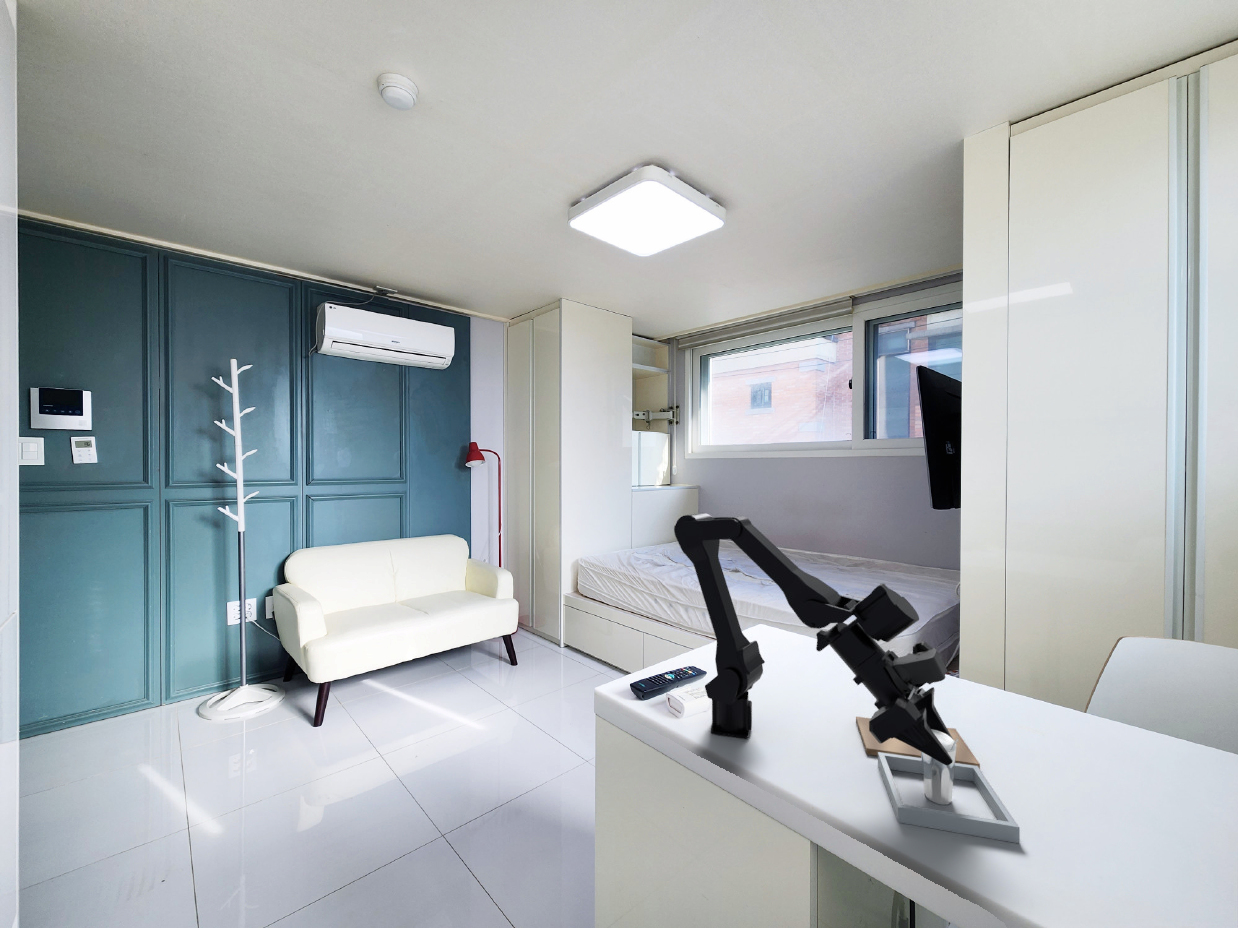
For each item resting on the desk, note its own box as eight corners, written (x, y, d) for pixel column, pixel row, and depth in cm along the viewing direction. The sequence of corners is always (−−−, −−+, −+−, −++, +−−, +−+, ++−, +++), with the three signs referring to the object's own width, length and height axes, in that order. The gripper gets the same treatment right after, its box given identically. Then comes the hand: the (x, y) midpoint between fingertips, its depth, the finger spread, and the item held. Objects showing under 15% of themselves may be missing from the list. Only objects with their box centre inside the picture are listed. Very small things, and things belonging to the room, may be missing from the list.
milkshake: (944, 815, 69) (944, 742, 69) (911, 790, 74) (911, 722, 74) (970, 808, 70) (969, 736, 70) (936, 784, 75) (935, 717, 75)
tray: (898, 821, 68) (898, 806, 68) (877, 764, 81) (877, 751, 81) (1019, 843, 64) (1019, 827, 64) (977, 779, 77) (977, 765, 77)
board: (866, 754, 84) (866, 747, 84) (855, 721, 94) (855, 716, 94) (979, 770, 79) (979, 763, 79) (955, 734, 90) (955, 728, 90)
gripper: (894, 646, 68) (999, 759, 61) (918, 613, 82) (1005, 702, 75) (833, 690, 72) (923, 799, 65) (865, 652, 87) (942, 738, 80)
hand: (952, 755), depth 71 cm, fingers closed on milkshake, 4 cm apart
